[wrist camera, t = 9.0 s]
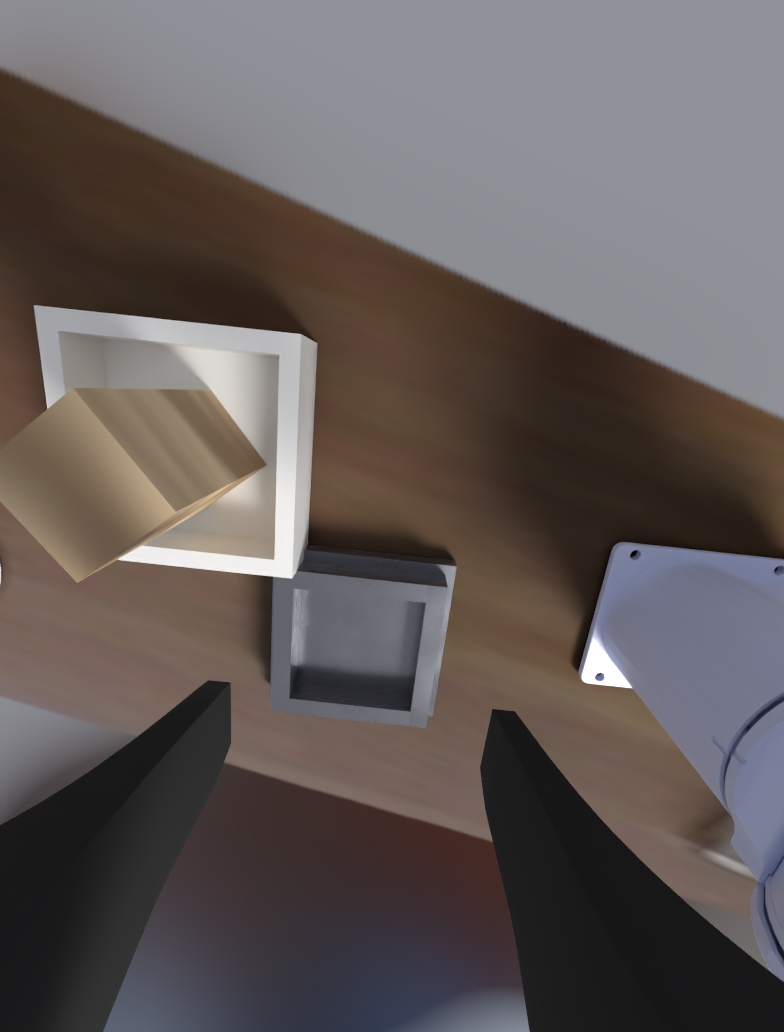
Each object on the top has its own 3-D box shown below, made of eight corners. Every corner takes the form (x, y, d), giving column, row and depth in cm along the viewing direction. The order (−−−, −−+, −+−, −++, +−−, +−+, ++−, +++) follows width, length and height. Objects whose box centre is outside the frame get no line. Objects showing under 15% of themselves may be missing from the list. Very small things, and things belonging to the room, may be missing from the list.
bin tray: (317, 343, 18) (301, 334, 15) (307, 553, 21) (292, 578, 18) (92, 319, 18) (33, 305, 15) (112, 532, 21) (66, 554, 18)
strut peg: (211, 390, 18) (72, 387, 11) (267, 464, 19) (175, 512, 12) (145, 440, 19) (-28, 471, 11) (202, 509, 20) (77, 582, 12)
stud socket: (454, 560, 21) (460, 578, 19) (431, 706, 24) (434, 736, 21) (278, 541, 21) (264, 557, 19) (274, 689, 24) (261, 717, 21)
